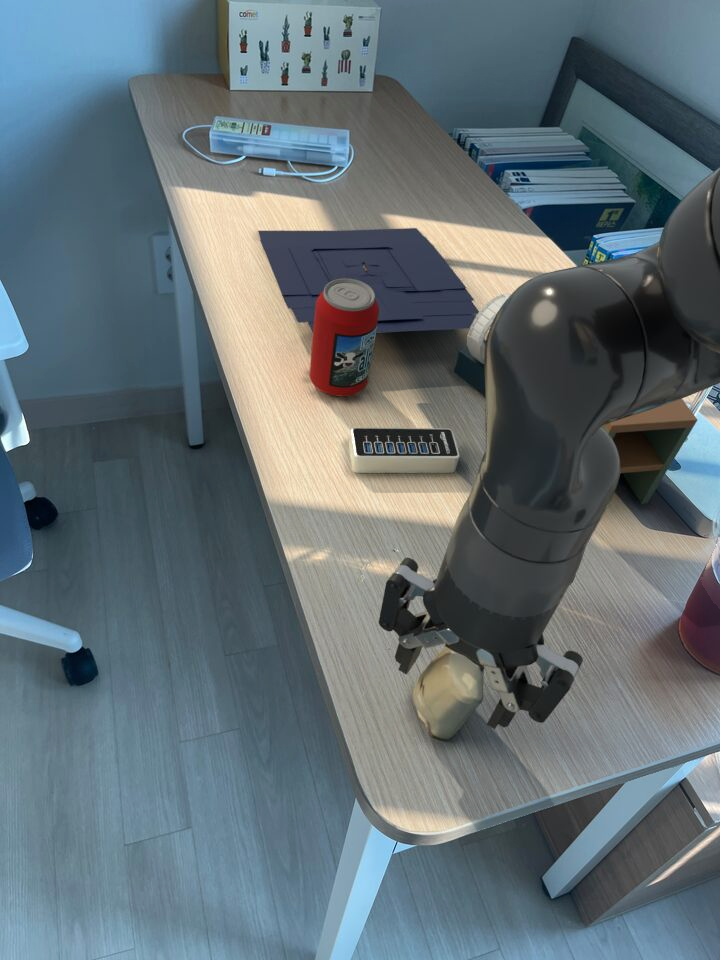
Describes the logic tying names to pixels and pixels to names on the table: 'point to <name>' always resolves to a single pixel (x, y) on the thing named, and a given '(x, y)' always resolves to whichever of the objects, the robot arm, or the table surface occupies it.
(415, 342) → the table surface
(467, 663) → the beige rounded block
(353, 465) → the multiport hub
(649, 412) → the shelf
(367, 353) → the beverage can
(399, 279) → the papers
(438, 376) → the table surface
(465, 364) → the watch
